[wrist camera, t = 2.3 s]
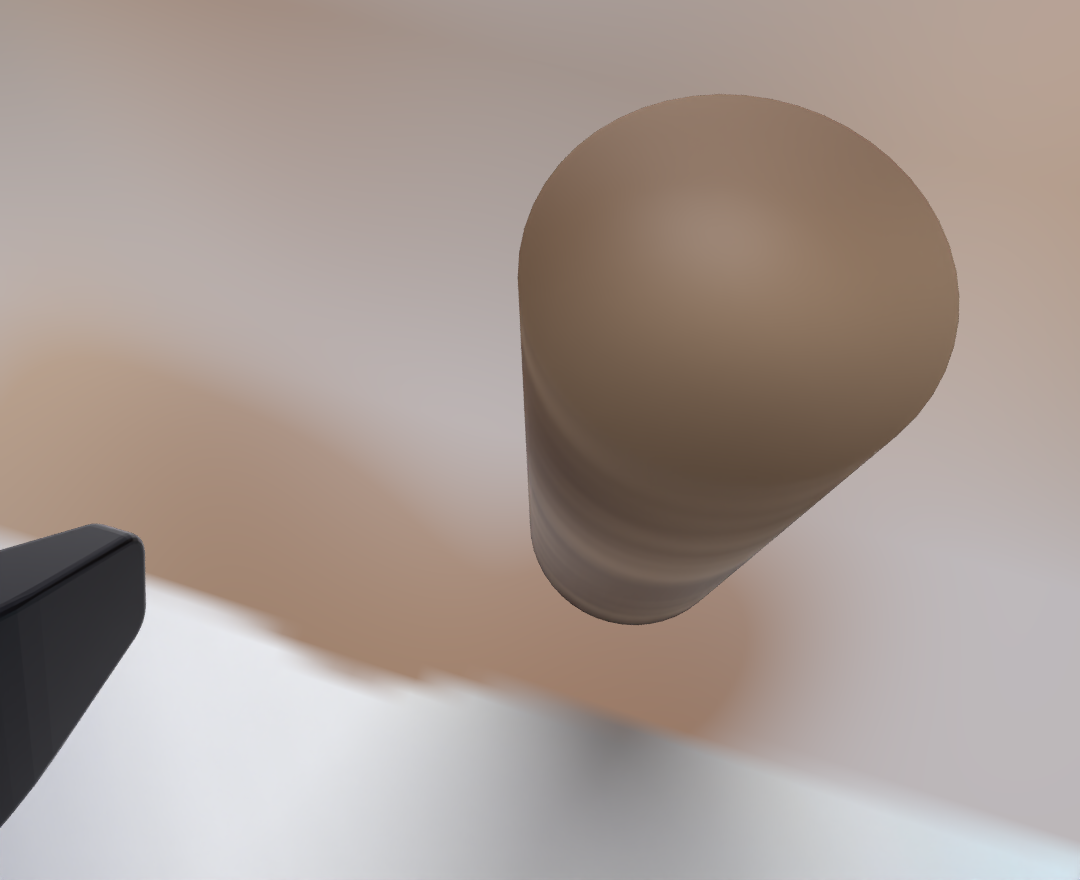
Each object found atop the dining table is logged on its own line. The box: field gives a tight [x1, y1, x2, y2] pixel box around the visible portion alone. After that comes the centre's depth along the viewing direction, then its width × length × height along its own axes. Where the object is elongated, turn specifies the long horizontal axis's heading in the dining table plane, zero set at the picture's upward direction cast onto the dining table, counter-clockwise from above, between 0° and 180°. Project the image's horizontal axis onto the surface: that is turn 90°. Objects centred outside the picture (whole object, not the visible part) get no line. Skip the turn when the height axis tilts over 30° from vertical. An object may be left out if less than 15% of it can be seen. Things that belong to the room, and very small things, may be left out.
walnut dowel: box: [518, 94, 959, 625], centre depth 14 cm, size 4×4×11 cm
